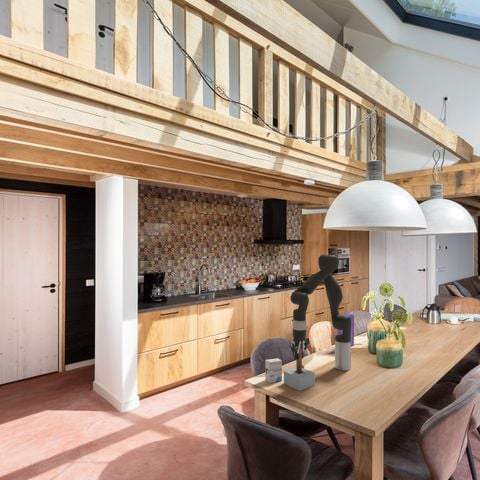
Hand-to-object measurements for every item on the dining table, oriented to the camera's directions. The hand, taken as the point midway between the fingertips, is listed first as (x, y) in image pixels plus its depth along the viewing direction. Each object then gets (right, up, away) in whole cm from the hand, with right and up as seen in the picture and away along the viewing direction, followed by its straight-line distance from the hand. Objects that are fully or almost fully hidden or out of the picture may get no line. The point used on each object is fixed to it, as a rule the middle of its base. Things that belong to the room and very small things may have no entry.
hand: (299, 358), depth 196 cm
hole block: (0, -14, 0) cm, 14 cm away
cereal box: (+47, -15, +71) cm, 87 cm away
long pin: (0, -8, 0) cm, 8 cm away
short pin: (+4, -14, +13) cm, 20 cm away
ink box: (-14, -15, +6) cm, 21 cm away
